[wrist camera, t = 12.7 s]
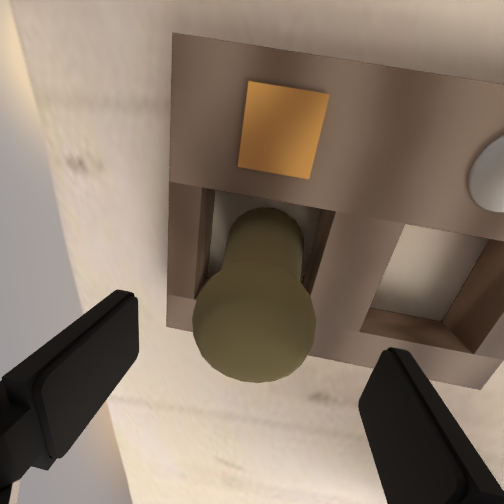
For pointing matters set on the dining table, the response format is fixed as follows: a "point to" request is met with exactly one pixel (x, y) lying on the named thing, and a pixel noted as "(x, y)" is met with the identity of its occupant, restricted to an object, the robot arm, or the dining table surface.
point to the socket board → (344, 188)
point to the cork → (257, 302)
